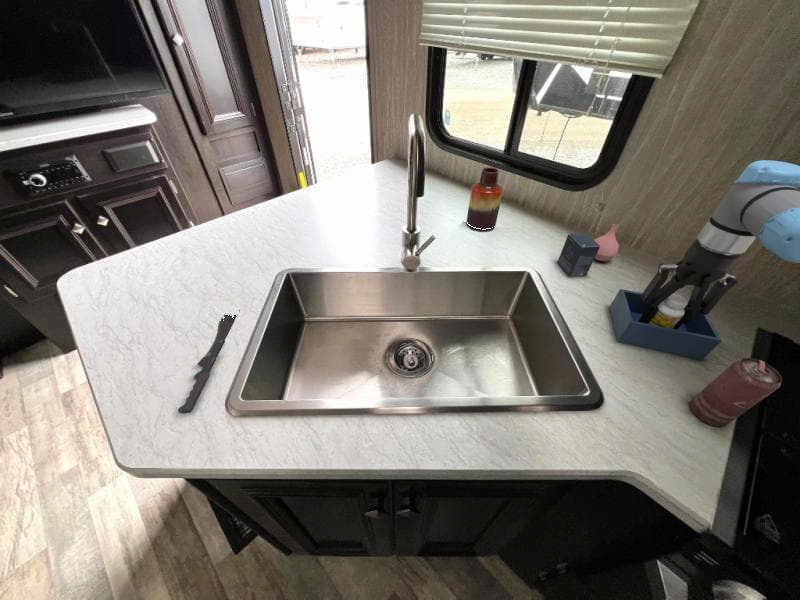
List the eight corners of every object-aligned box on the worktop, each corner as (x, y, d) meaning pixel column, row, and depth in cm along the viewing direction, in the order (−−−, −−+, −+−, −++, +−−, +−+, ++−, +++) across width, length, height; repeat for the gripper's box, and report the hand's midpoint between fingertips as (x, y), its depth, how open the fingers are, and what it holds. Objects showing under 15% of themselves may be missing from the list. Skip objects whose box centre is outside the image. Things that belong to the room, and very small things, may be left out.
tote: (684, 322, 81) (701, 303, 77) (702, 360, 72) (722, 340, 68) (608, 307, 85) (620, 288, 81) (616, 341, 76) (630, 322, 72)
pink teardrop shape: (612, 255, 104) (630, 222, 96) (612, 267, 99) (630, 233, 91) (586, 249, 106) (601, 216, 98) (585, 261, 101) (600, 227, 93)
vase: (483, 235, 114) (494, 178, 100) (460, 224, 120) (467, 169, 106) (501, 225, 119) (513, 170, 106) (477, 215, 125) (487, 161, 112)
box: (586, 276, 96) (601, 246, 88) (568, 277, 95) (582, 247, 88) (573, 261, 101) (586, 231, 94) (556, 262, 101) (568, 232, 94)
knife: (229, 303, 86) (229, 302, 86) (245, 303, 87) (244, 301, 86) (170, 412, 63) (168, 411, 62) (191, 412, 63) (190, 410, 62)
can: (725, 407, 63) (781, 364, 54) (728, 433, 59) (789, 392, 50) (688, 392, 66) (735, 349, 56) (689, 416, 62) (740, 374, 52)
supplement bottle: (672, 332, 77) (697, 302, 70) (659, 339, 75) (683, 310, 68) (651, 318, 80) (672, 289, 74) (637, 325, 78) (658, 295, 72)
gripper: (766, 244, 63) (694, 325, 78) (659, 229, 67) (611, 309, 82) (787, 264, 57) (705, 348, 73) (669, 247, 62) (616, 329, 77)
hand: (655, 327), depth 77 cm, fingers closed on supplement bottle, 5 cm apart
